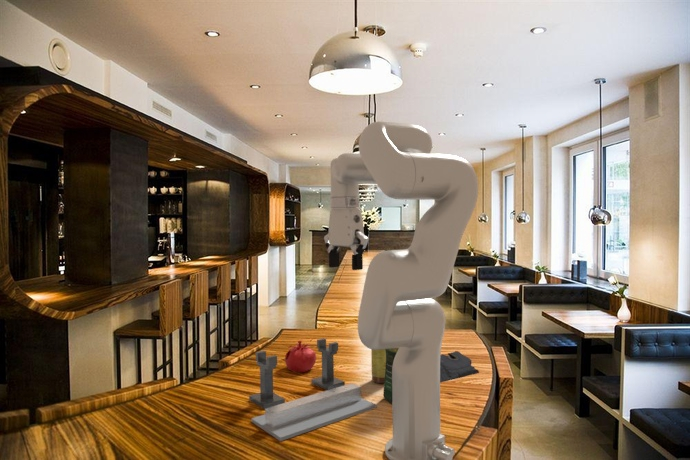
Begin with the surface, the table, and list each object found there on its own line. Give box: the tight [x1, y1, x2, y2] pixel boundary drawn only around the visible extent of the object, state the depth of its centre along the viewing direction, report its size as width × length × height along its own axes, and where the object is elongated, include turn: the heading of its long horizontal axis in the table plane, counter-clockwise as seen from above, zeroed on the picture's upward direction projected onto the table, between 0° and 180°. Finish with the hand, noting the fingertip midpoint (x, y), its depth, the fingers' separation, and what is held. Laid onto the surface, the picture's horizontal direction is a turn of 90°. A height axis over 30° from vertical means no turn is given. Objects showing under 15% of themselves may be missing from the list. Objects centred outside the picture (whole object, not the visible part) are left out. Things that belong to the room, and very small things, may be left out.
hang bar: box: [264, 382, 362, 429], centre depth 115 cm, size 4×26×4 cm, turn 129°
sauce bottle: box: [370, 349, 386, 385], centre depth 138 cm, size 6×6×20 cm
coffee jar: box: [383, 348, 399, 404], centre depth 124 cm, size 10×8×19 cm
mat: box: [250, 397, 377, 442], centre depth 115 cm, size 13×28×1 cm, turn 129°
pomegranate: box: [284, 340, 317, 373], centre depth 150 cm, size 10×10×9 cm
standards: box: [248, 337, 346, 410], centre depth 129 cm, size 8×26×12 cm, turn 129°
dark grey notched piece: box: [440, 350, 480, 384], centre depth 146 cm, size 15×22×5 cm
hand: (345, 268), depth 126 cm, fingers open, 9 cm apart
